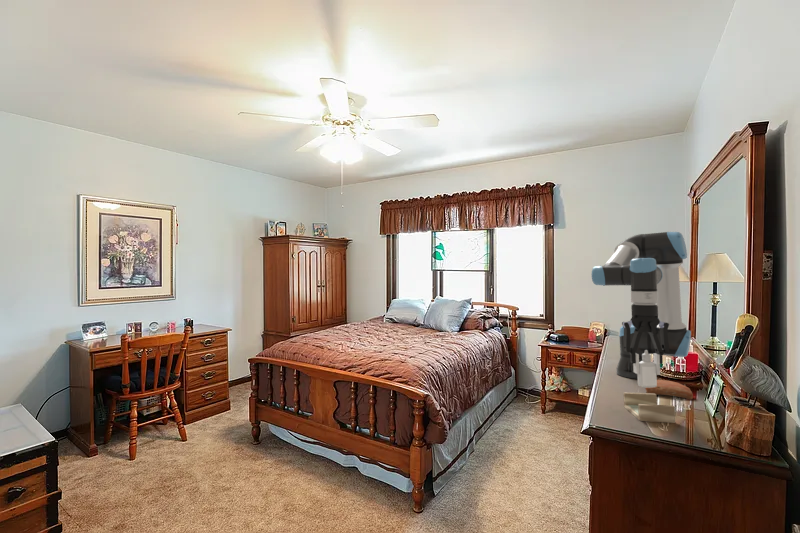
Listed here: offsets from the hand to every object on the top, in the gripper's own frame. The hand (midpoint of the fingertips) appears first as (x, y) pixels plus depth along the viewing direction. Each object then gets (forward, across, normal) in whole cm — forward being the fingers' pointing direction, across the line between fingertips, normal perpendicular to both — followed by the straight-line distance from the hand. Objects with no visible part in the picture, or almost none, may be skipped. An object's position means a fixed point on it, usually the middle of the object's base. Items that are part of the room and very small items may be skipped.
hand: (646, 373), depth 127 cm
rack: (+14, 0, 0) cm, 14 cm away
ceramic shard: (+14, +17, +27) cm, 35 cm away
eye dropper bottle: (+5, 0, 0) cm, 5 cm away
